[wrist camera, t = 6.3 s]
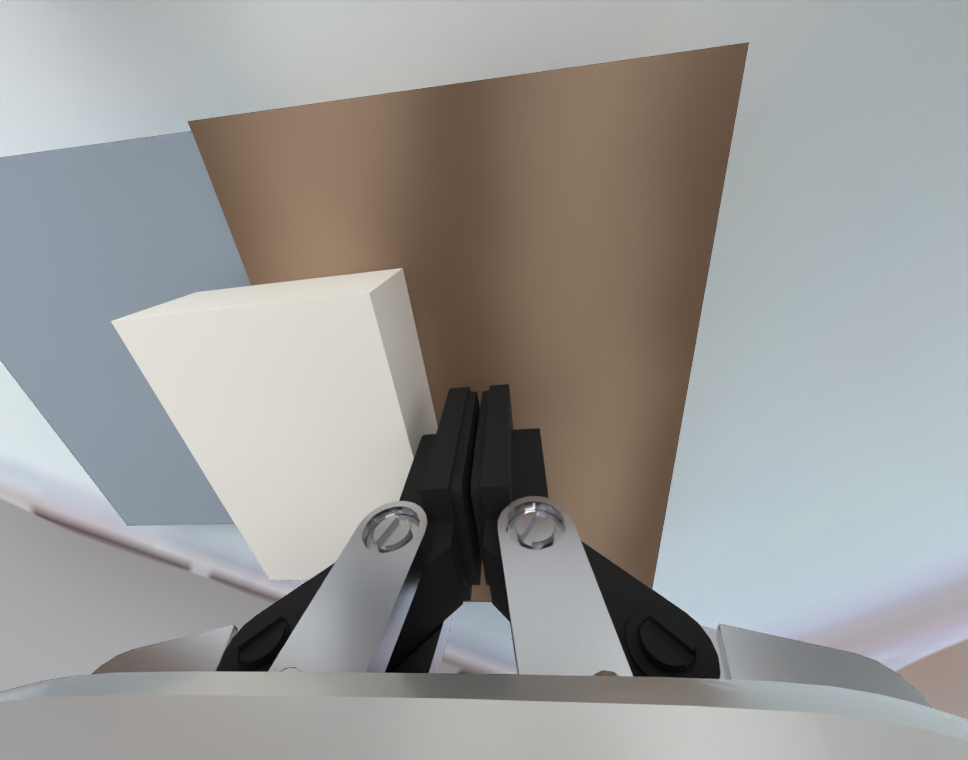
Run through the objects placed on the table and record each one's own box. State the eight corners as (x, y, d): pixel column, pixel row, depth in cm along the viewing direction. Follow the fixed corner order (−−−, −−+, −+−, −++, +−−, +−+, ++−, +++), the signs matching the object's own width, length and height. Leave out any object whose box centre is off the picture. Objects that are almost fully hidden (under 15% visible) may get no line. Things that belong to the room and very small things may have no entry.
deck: (684, 80, 10) (748, 42, 7) (629, 541, 18) (649, 602, 16) (264, 136, 11) (187, 121, 8) (392, 544, 19) (373, 601, 17)
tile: (402, 267, 10) (369, 293, 7) (457, 515, 14) (446, 579, 12) (196, 291, 10) (110, 321, 8) (306, 519, 14) (269, 580, 12)
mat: (255, 137, 11) (207, 129, 9) (368, 487, 18) (352, 520, 16) (-47, 177, 12) (-141, 177, 10) (163, 493, 19) (127, 525, 17)
